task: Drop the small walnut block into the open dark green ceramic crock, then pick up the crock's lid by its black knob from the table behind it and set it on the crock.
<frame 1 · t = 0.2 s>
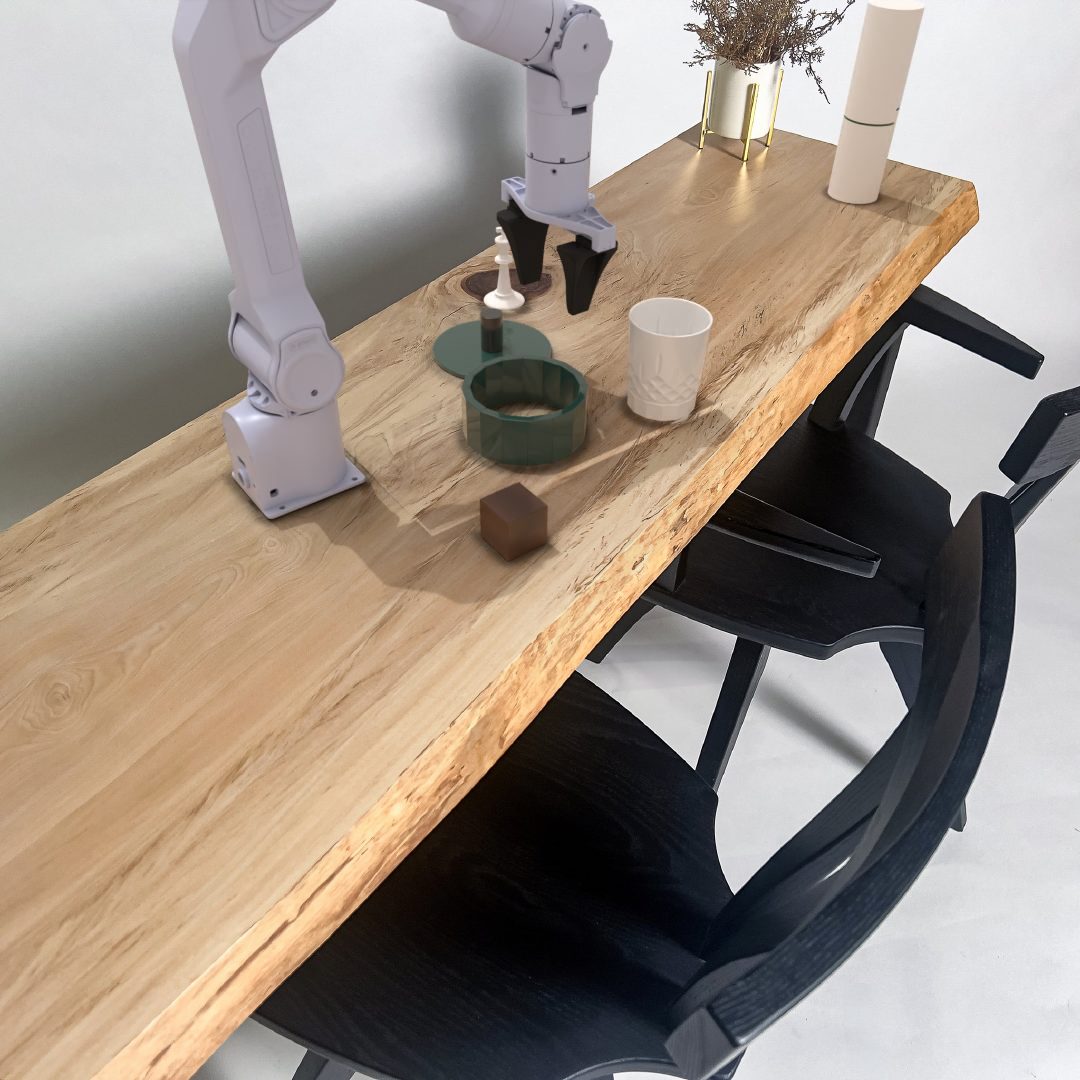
hand: (553, 296, 93), 10 cm above the table, tool pointing down, fingers open, 7 cm apart
block: (513, 539, 81), on the table
white cup: (660, 408, 97), on the table
cylindrical container: (852, 195, 142), on the table
crock: (524, 434, 93), on the table
chess piece: (504, 306, 114), on the table
lid: (492, 351, 104), point 1 cm above the table
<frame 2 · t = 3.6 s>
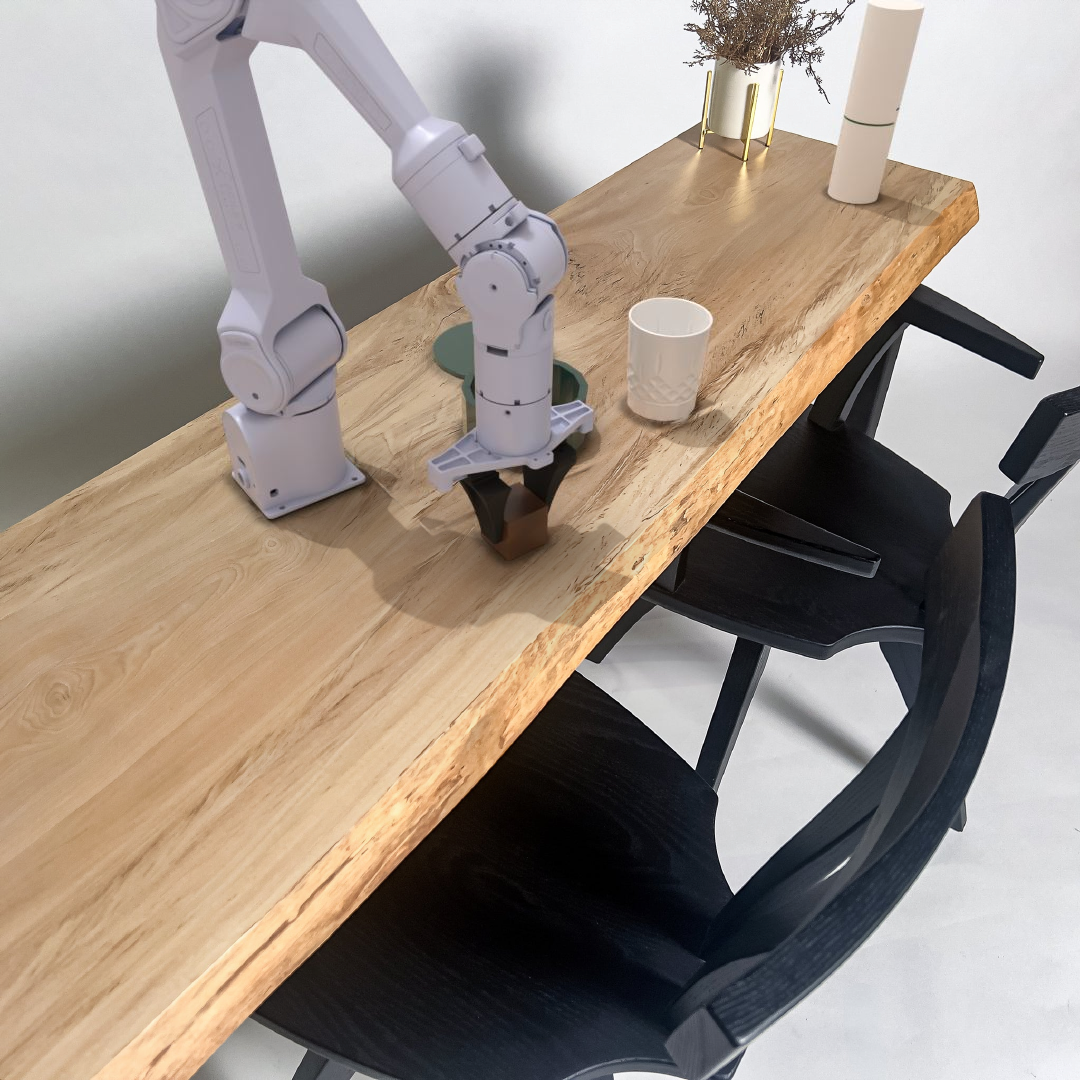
hand: (513, 526, 80), 1 cm above the table, tool pointing down, fingers closed on block, 4 cm apart
block: (513, 539, 81), on the table, touching gripper
everything else where it was.
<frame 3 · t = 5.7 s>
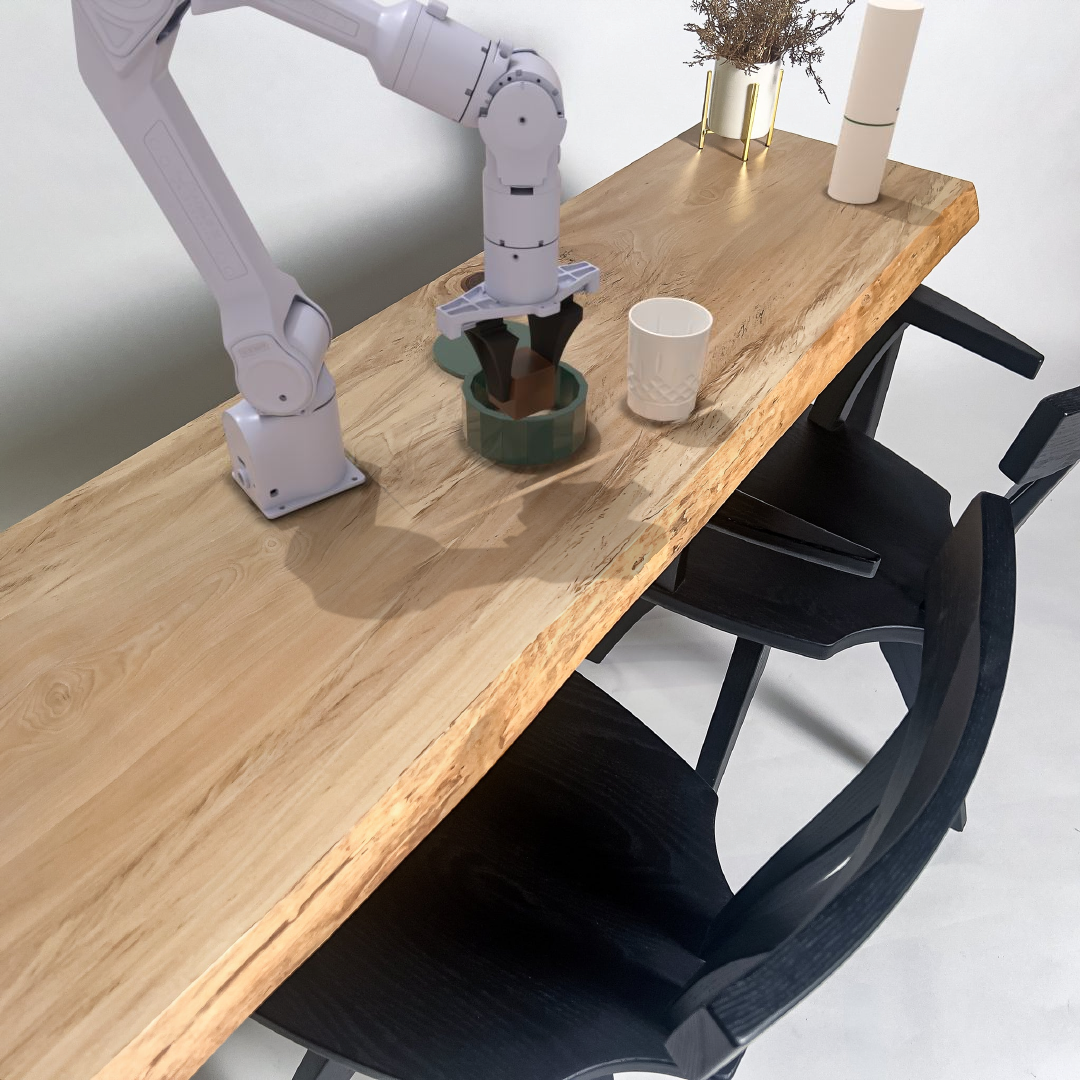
hand: (520, 388, 82), 9 cm above the table, tool pointing down, fingers closed on block, 4 cm apart
block: (521, 403, 83), point 8 cm above the table, touching gripper
everything else where it was.
when the fingers open (5 cm above the table, at t = 8.1 s): block drops 4 cm, resting on crock.
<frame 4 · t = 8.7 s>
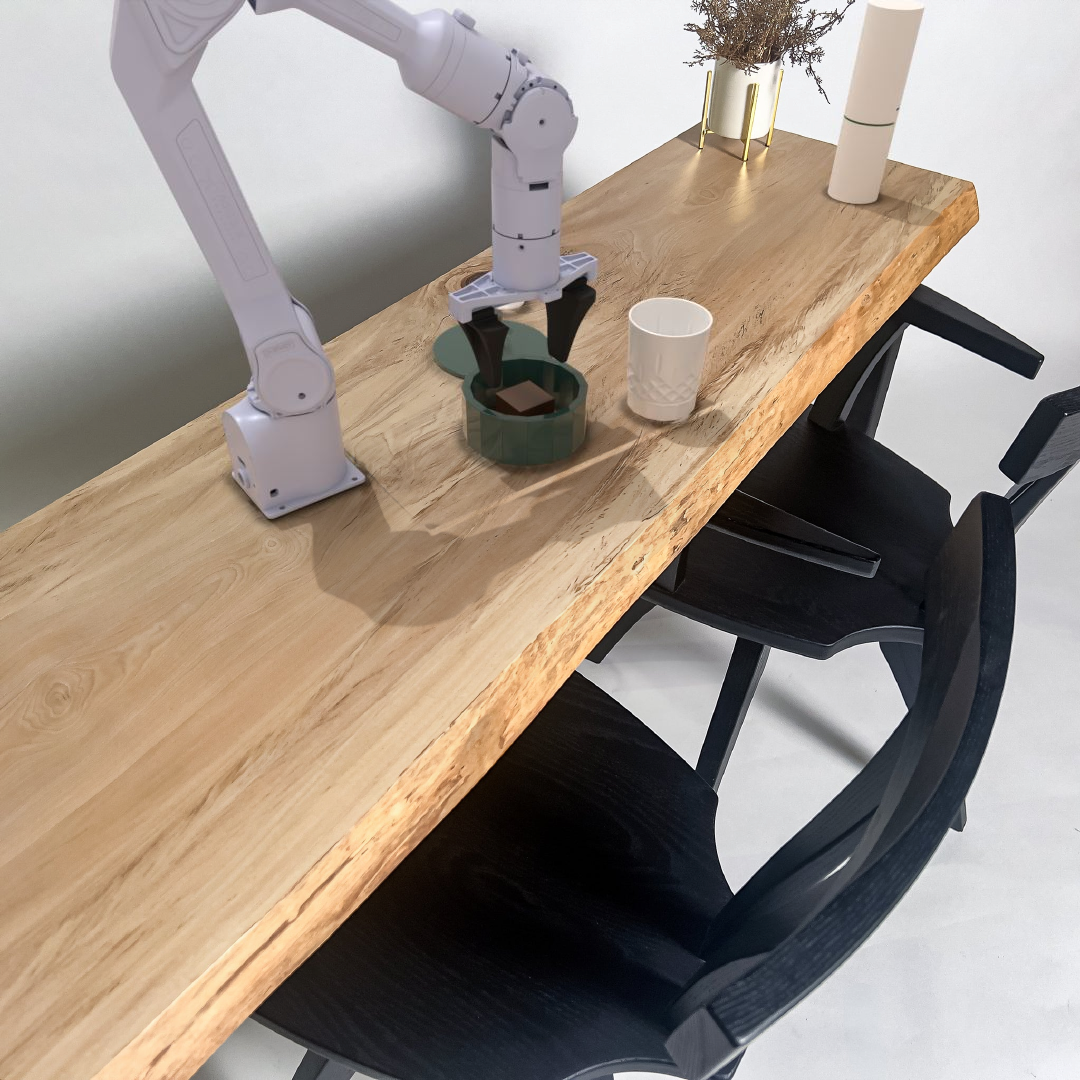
hand: (524, 370, 89), 7 cm above the table, tool pointing down, fingers open, 7 cm apart
block: (524, 431, 93), resting on crock
everything else where it was.
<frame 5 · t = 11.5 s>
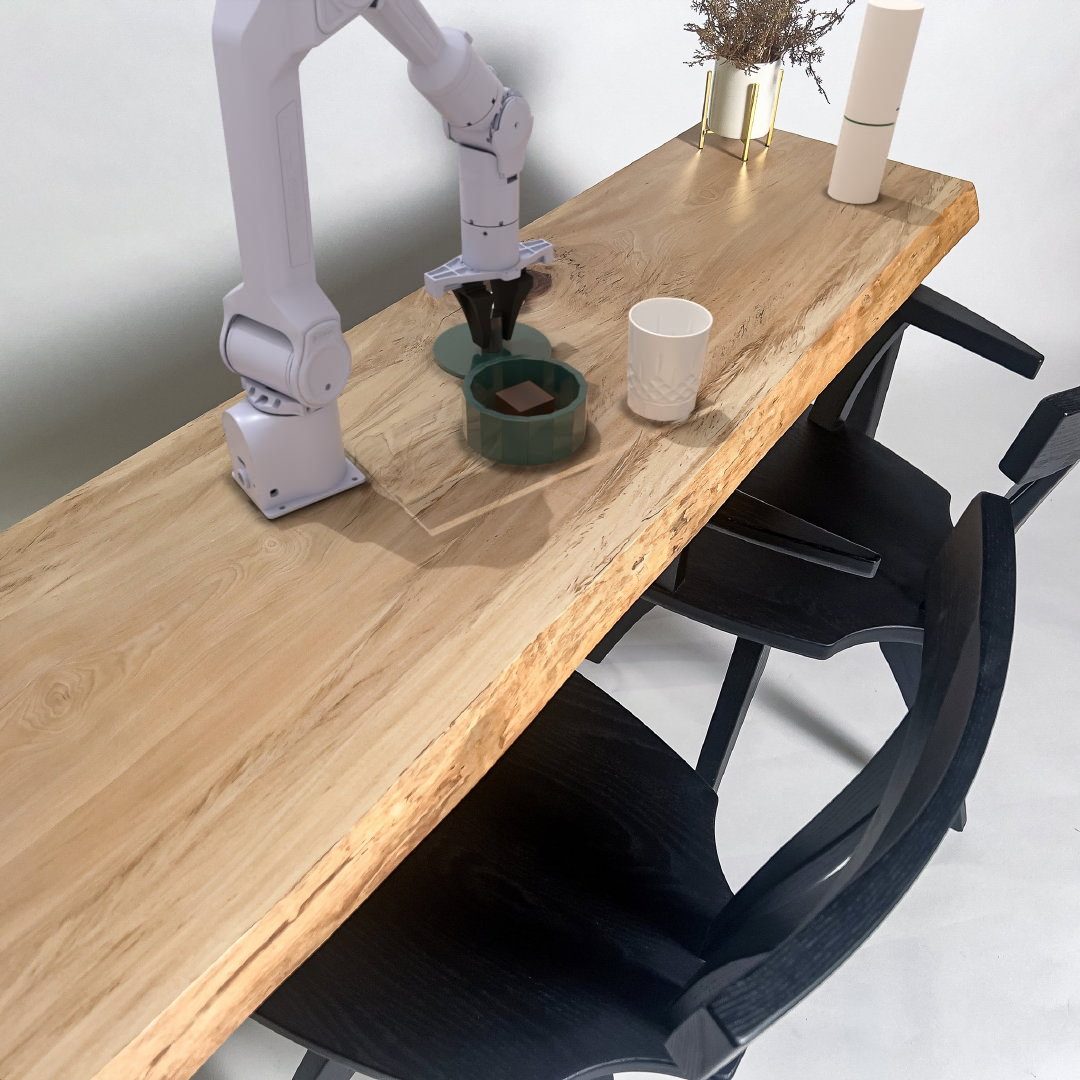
hand: (491, 340, 103), 2 cm above the table, tool pointing down, fingers closed on lid, 2 cm apart
lid: (492, 351, 104), point 1 cm above the table, touching gripper
everything else where it was.
when the fingers open (7 cm above the table, at t = 15.4 s): lid stays where it is, resting on crock.
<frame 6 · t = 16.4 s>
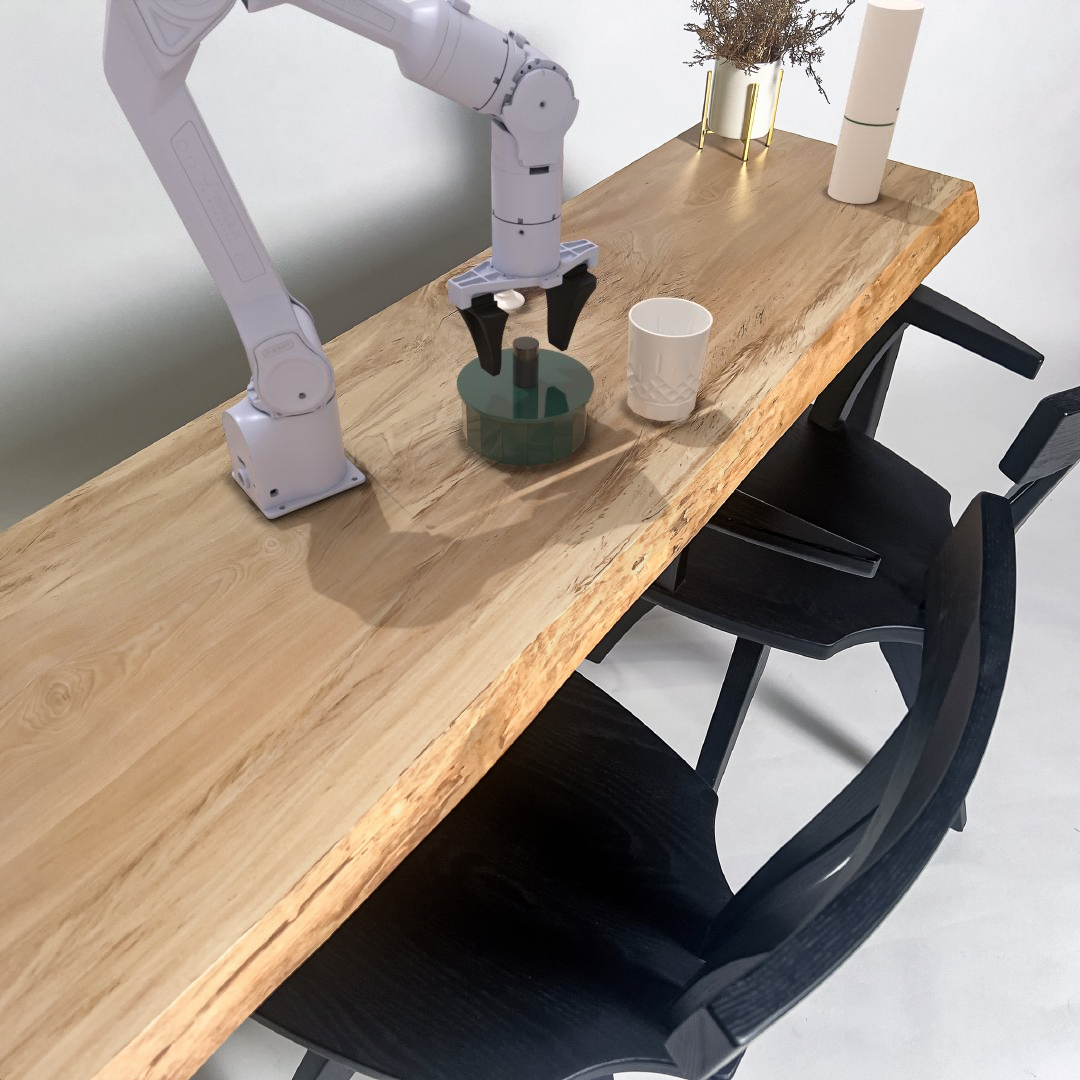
hand: (524, 358, 88), 8 cm above the table, tool pointing down, fingers open, 7 cm apart
lid: (525, 386, 90), point 5 cm above the table, touching crock
everything else where it was.
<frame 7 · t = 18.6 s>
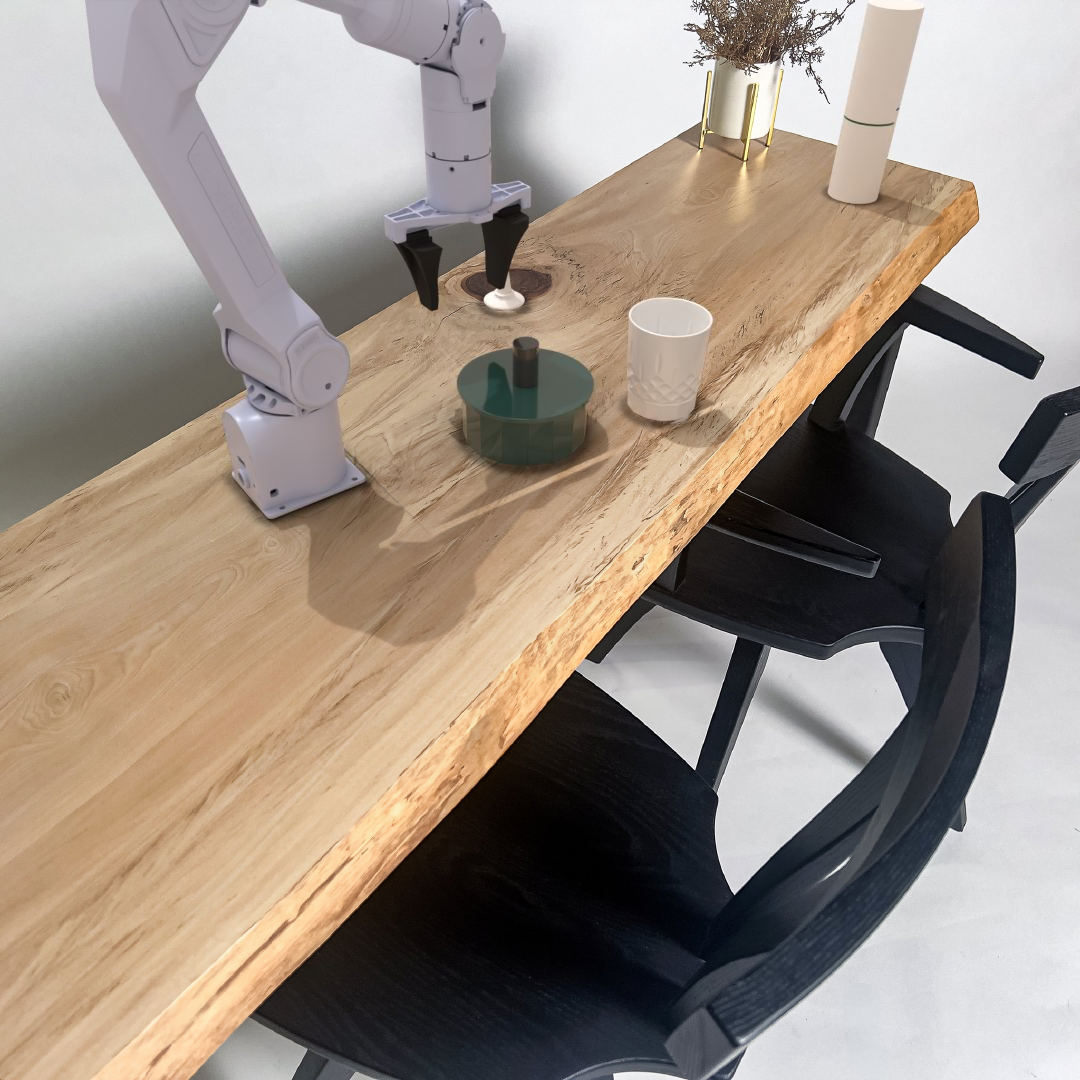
hand: (463, 295, 92), 10 cm above the table, tool pointing down, fingers open, 7 cm apart
nothing on the table moved.
at the end: block inside the target area in the crock (0.0 cm from its centre), point 0.4 cm above the crock's base; lid 0.0 cm off-centre on the crock, point 5.4 cm above the crock's base; lid tilted 0° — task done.
